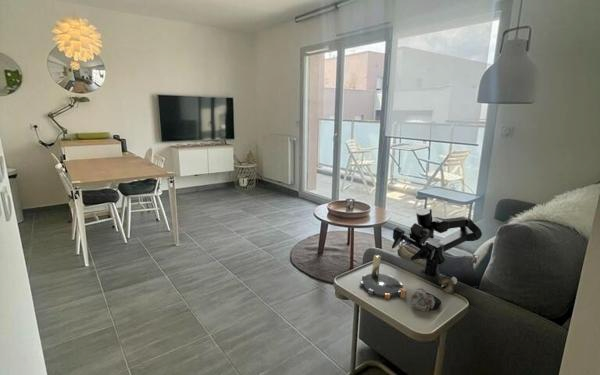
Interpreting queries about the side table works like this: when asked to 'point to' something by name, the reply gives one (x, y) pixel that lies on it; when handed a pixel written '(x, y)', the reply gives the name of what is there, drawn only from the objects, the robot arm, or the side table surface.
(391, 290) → the grey base with rod
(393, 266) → the side table surface
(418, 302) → the grey rock
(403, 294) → the index pointer
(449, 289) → the eagle figurine
